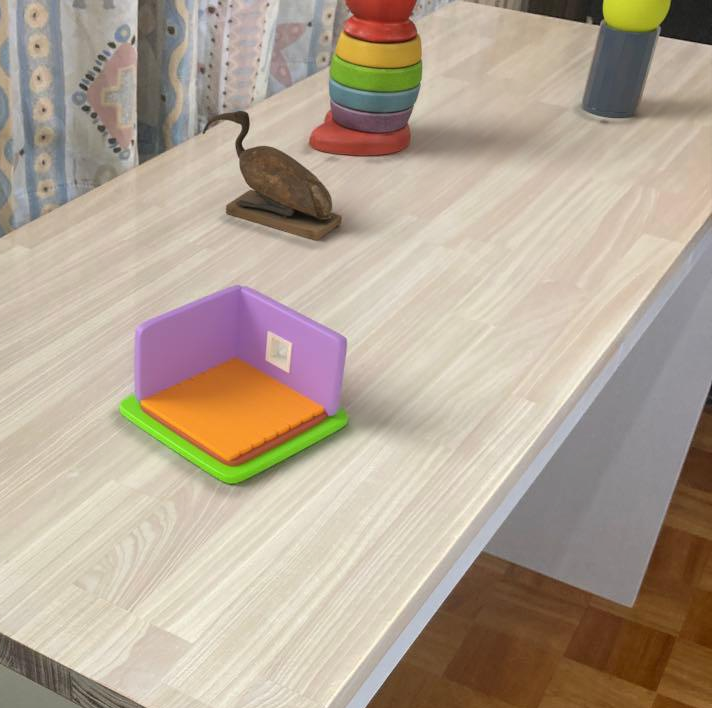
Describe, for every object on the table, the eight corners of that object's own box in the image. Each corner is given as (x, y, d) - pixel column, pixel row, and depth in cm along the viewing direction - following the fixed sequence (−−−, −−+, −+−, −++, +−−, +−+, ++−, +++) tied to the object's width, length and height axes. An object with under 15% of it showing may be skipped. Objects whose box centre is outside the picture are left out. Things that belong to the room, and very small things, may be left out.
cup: (647, 116, 128) (671, 32, 122) (595, 118, 127) (617, 34, 121) (621, 98, 132) (643, 15, 127) (571, 100, 131) (591, 17, 126)
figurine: (187, 202, 107) (190, 109, 102) (213, 187, 110) (217, 95, 104) (317, 241, 101) (328, 144, 96) (341, 224, 104) (353, 129, 98)
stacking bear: (329, 115, 126) (349, -63, 114) (420, 129, 123) (449, -52, 112) (304, 149, 118) (321, -38, 107) (400, 164, 115) (429, -26, 104)
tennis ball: (672, 44, 123) (691, -24, 118) (613, 47, 122) (630, -21, 117) (642, 25, 128) (659, -41, 123) (585, 28, 127) (600, -39, 122)
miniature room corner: (235, 354, 86) (240, 270, 81) (355, 422, 79) (368, 335, 75) (111, 410, 79) (110, 323, 75) (230, 489, 73) (236, 398, 68)
